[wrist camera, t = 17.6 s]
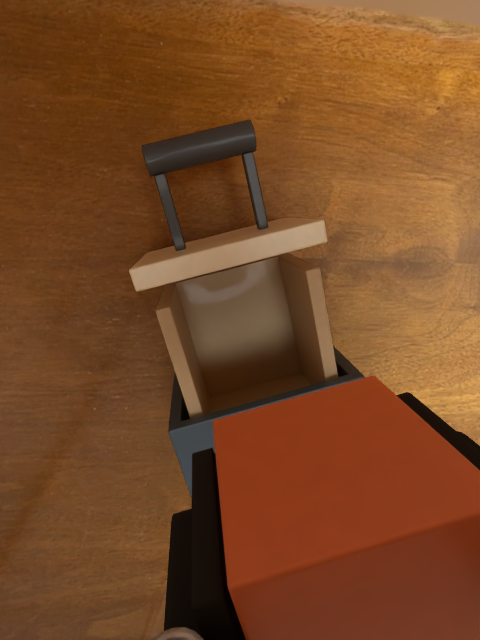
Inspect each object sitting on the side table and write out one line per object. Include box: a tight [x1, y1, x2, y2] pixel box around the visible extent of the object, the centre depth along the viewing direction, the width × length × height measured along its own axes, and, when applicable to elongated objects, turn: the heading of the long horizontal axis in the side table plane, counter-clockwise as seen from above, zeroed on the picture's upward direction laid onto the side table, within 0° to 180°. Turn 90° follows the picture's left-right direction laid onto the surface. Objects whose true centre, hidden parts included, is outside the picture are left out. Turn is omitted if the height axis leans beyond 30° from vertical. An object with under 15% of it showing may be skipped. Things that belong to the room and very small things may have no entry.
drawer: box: [129, 120, 338, 419], centre depth 23 cm, size 18×10×8 cm, turn 13°
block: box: [213, 376, 480, 640], centre depth 8 cm, size 4×4×4 cm
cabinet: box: [168, 346, 365, 497], centre depth 27 cm, size 13×11×9 cm
